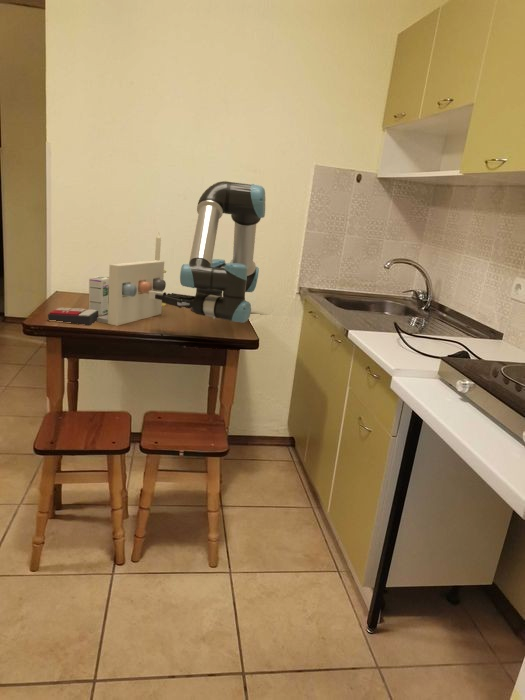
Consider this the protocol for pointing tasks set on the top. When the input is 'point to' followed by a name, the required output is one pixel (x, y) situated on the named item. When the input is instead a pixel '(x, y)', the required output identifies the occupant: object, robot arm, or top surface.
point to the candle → (158, 252)
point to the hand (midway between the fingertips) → (149, 294)
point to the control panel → (138, 305)
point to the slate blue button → (129, 289)
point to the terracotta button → (144, 287)
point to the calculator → (74, 315)
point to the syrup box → (99, 294)
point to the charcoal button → (159, 284)
